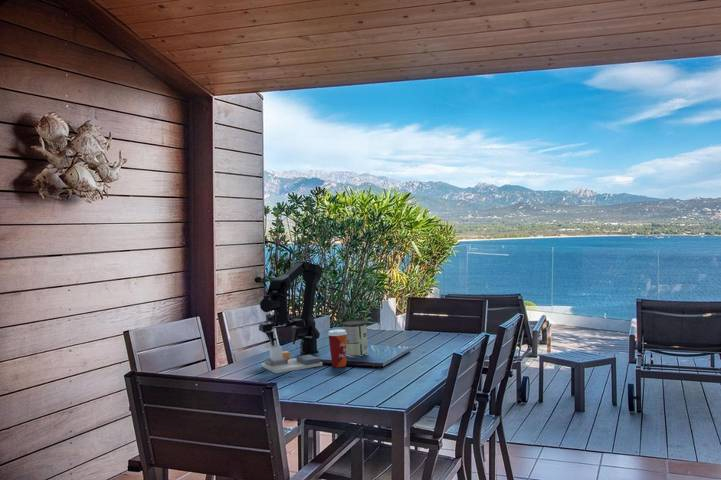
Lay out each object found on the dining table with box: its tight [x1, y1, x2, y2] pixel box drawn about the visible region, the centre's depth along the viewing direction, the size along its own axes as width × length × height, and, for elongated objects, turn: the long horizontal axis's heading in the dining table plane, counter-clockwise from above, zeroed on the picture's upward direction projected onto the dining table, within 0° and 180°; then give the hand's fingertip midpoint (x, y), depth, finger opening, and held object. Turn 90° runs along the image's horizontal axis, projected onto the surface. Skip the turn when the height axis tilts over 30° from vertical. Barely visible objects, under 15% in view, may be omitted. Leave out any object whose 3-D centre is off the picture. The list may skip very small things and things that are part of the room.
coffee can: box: [341, 319, 369, 356], centre depth 288 cm, size 10×10×14 cm
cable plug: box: [282, 350, 291, 360], centre depth 287 cm, size 4×12×4 cm, turn 28°
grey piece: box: [296, 354, 321, 365], centre depth 273 cm, size 6×10×2 cm, turn 28°
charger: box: [268, 344, 283, 362], centre depth 274 cm, size 4×4×7 cm
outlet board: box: [261, 357, 324, 374], centre depth 273 cm, size 20×16×3 cm
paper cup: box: [327, 328, 347, 368], centre depth 269 cm, size 8×8×14 cm
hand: (283, 345), depth 283 cm, fingers open, 9 cm apart
